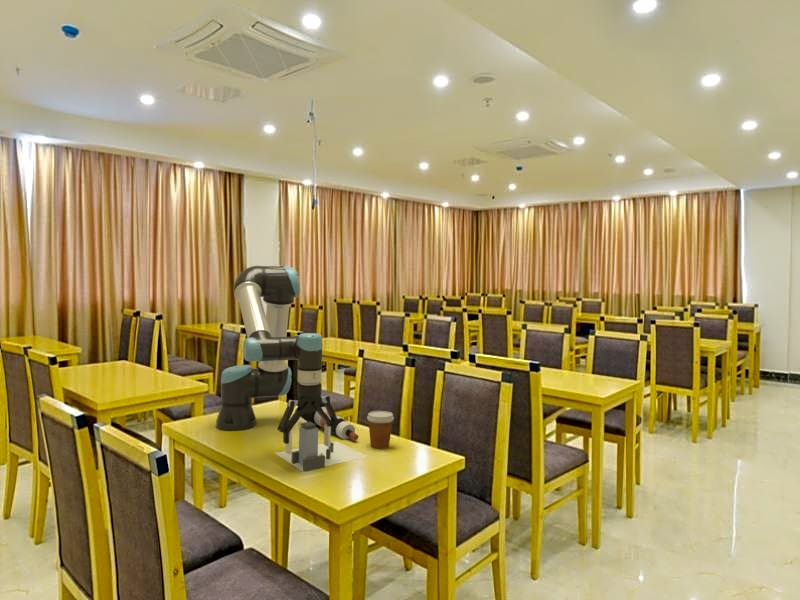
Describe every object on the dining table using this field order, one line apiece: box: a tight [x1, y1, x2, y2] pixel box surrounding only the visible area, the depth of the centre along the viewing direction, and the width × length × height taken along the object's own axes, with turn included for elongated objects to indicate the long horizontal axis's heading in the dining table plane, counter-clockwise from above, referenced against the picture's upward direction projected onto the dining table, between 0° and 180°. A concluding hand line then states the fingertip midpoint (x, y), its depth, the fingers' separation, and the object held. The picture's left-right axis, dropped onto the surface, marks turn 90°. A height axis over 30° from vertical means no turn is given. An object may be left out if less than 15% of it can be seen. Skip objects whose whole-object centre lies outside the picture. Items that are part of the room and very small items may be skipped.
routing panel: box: [274, 440, 368, 472], centre depth 181 cm, size 20×24×4 cm
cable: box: [300, 402, 359, 441], centre depth 209 cm, size 10×34×10 cm, turn 39°
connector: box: [298, 421, 319, 466], centre depth 171 cm, size 5×4×13 cm
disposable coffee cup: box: [366, 410, 395, 450], centre depth 192 cm, size 10×10×12 cm
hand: (308, 449), depth 171 cm, fingers open, 13 cm apart
